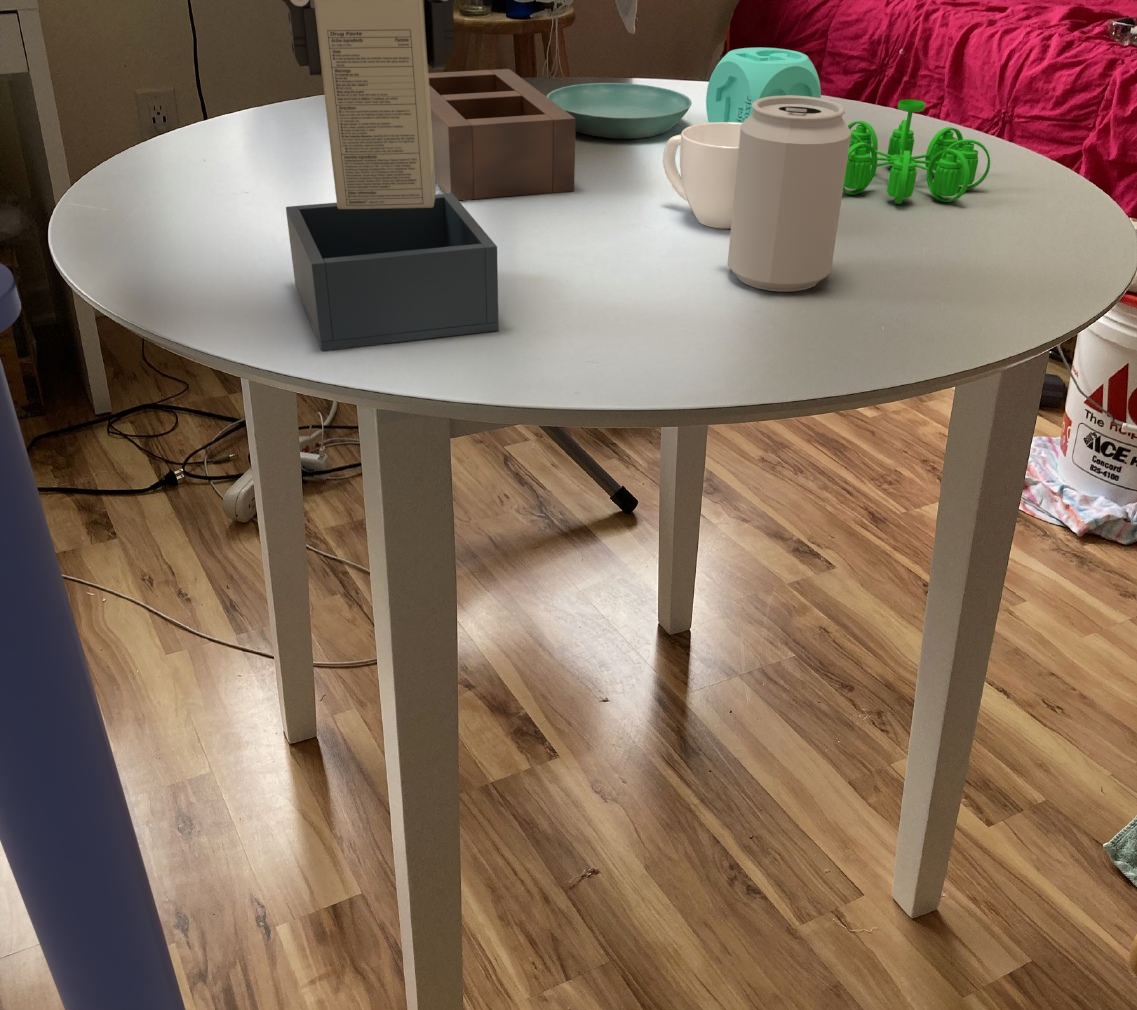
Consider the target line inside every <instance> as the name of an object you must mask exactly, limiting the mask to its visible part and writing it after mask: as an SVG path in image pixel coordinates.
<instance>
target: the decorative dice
mask: <svg viewBox="0 0 1137 1010" xmlns="http://www.w3.org/2000/svg"><path fill="white" fill-rule="evenodd" d="M787 95H793V96H808V97H816V98H822V92H821V83H820V78H819V75H818V72H817V70H816V67H815V65H814V64H813V62H812V60H811V59H810V58H809V56H808V55H806V54H805V53H803V52H800V51H795V50H791V49H785V48H777V47H744V48H743V47H742V48H736V49H732V50H730V51H728V52H727V53H726V54H725V55H724V56H723V57H721V59H720V61H719V62H718V63H717V65H716V66H715V68H714V69H713V72H712V73H711V76H710V78H709V80H708V84H707V88H706V96H705V97H706V98H705V106H706V110H705V111H706V116H707V121H708V123H714V122H731V123H743V122H744V121H745V120H746V119H747V118H748V117H749V116H750V115H751V114H752V113H753V112H754V110H753V109H752V103H753V102H755V101H756V100H758V99H761V98H765V97H771V96H787Z"/></svg>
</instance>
